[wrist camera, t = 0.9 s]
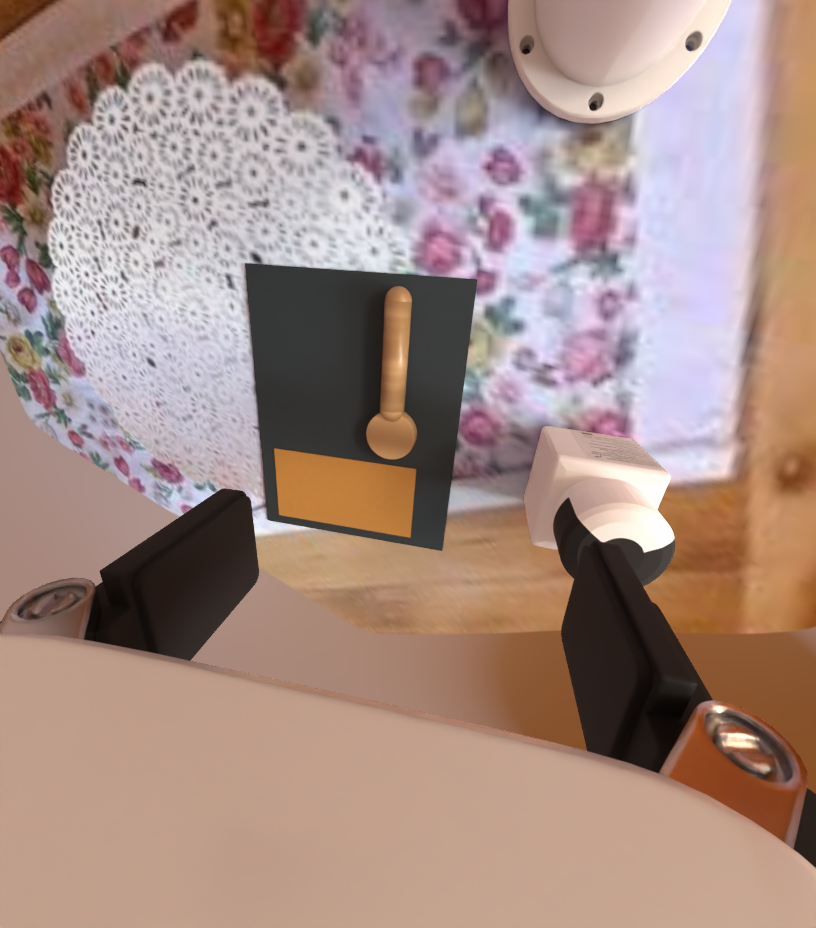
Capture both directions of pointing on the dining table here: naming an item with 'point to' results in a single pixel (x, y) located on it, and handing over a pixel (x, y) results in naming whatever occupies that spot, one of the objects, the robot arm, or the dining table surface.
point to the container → (598, 499)
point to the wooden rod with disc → (394, 381)
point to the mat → (355, 399)
